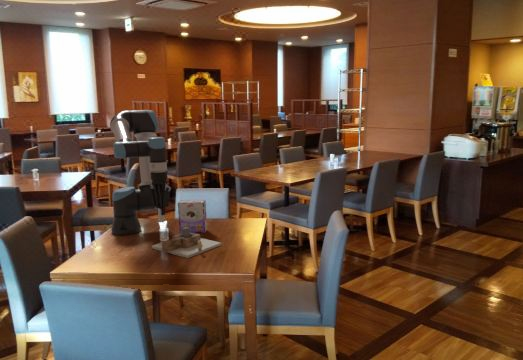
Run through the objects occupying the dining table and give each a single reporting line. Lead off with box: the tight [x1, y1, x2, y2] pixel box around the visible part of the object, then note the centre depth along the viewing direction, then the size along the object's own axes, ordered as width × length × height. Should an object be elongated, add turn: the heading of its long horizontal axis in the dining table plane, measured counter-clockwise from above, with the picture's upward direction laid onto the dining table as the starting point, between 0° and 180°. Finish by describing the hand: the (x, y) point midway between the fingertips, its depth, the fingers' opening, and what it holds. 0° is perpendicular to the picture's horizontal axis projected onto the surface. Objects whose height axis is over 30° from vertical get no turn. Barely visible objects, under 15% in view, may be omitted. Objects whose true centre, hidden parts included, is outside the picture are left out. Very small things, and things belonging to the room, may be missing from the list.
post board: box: [151, 227, 222, 259], centre depth 218 cm, size 24×22×9 cm
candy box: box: [177, 199, 208, 234], centre depth 243 cm, size 14×6×16 cm, turn 84°
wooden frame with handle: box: [161, 233, 201, 253], centre depth 215 cm, size 18×9×4 cm, turn 143°
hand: (161, 221), depth 215 cm, fingers closed
